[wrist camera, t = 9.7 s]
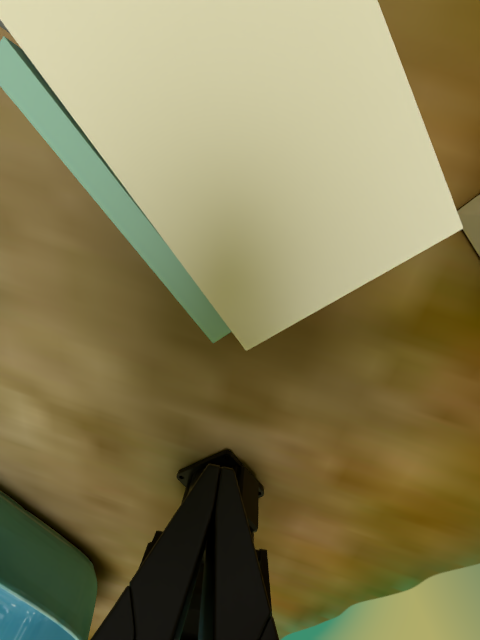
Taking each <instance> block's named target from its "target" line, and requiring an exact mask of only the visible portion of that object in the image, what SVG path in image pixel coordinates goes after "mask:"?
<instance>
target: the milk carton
mask: <svg viewBox="0 0 480 640" xmlns="http://www.w3.org/2000/svg"><path fill="white" fill-rule="evenodd" d="M457 213H458V215H459V218H460V220H461V223H462V226H463V231H464V232H465V234H466V235H467V237H468V239H469V240H470V242H471V244H472V245H473V247H474V248H475V250H476V252H477V253H478V255H479V256H480V194H479V195H478V196H477V197H475V198H474V199H473V200H471V201H470V202H469V203H467V204H466V205H465V206H463V207H462V208H461V209H459V210H458V211H457Z"/></svg>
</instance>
